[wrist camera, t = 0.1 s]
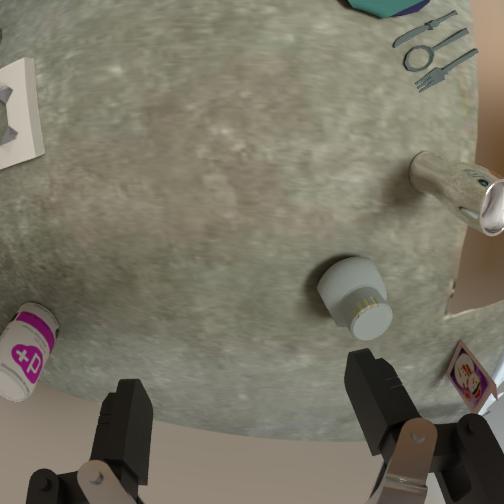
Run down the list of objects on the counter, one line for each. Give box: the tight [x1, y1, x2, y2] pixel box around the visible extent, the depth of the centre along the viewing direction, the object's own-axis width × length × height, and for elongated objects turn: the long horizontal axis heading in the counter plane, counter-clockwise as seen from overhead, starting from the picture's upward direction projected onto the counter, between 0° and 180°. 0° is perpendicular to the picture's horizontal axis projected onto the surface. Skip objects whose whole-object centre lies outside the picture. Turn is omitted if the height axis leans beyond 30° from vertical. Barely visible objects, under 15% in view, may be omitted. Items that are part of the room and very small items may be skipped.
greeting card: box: [446, 339, 498, 414], centre depth 53 cm, size 11×7×15 cm, turn 5°
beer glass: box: [409, 151, 504, 236], centre depth 32 cm, size 7×7×15 cm
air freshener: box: [317, 256, 392, 340], centre depth 41 cm, size 11×8×10 cm
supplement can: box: [0, 302, 60, 402], centre depth 36 cm, size 8×8×15 cm
